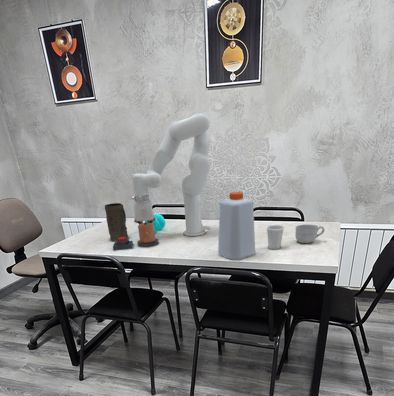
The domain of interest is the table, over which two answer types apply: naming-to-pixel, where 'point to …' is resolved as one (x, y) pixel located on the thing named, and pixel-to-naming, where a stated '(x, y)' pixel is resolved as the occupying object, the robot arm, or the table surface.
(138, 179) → the robot arm
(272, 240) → the dixie cup
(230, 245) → the plastic bottle
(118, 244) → the switch box
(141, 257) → the table surface
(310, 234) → the teacup
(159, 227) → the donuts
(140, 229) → the kettle
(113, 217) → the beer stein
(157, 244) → the base
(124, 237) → the button
